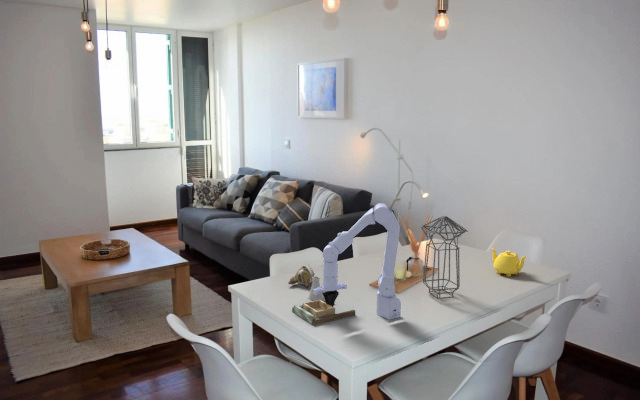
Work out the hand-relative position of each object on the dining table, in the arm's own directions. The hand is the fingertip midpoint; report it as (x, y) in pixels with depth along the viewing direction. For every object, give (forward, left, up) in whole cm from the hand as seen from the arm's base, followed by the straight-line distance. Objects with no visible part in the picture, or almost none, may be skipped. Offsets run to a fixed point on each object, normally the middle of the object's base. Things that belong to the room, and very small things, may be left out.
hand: (330, 308), depth 211 cm
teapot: (-2, -105, -2) cm, 105 cm away
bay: (0, +3, -2) cm, 4 cm away
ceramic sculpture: (+37, -10, -2) cm, 39 cm away
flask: (+16, -4, -2) cm, 17 cm away
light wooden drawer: (0, +5, -1) cm, 5 cm away
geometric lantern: (-7, -54, -2) cm, 54 cm away
